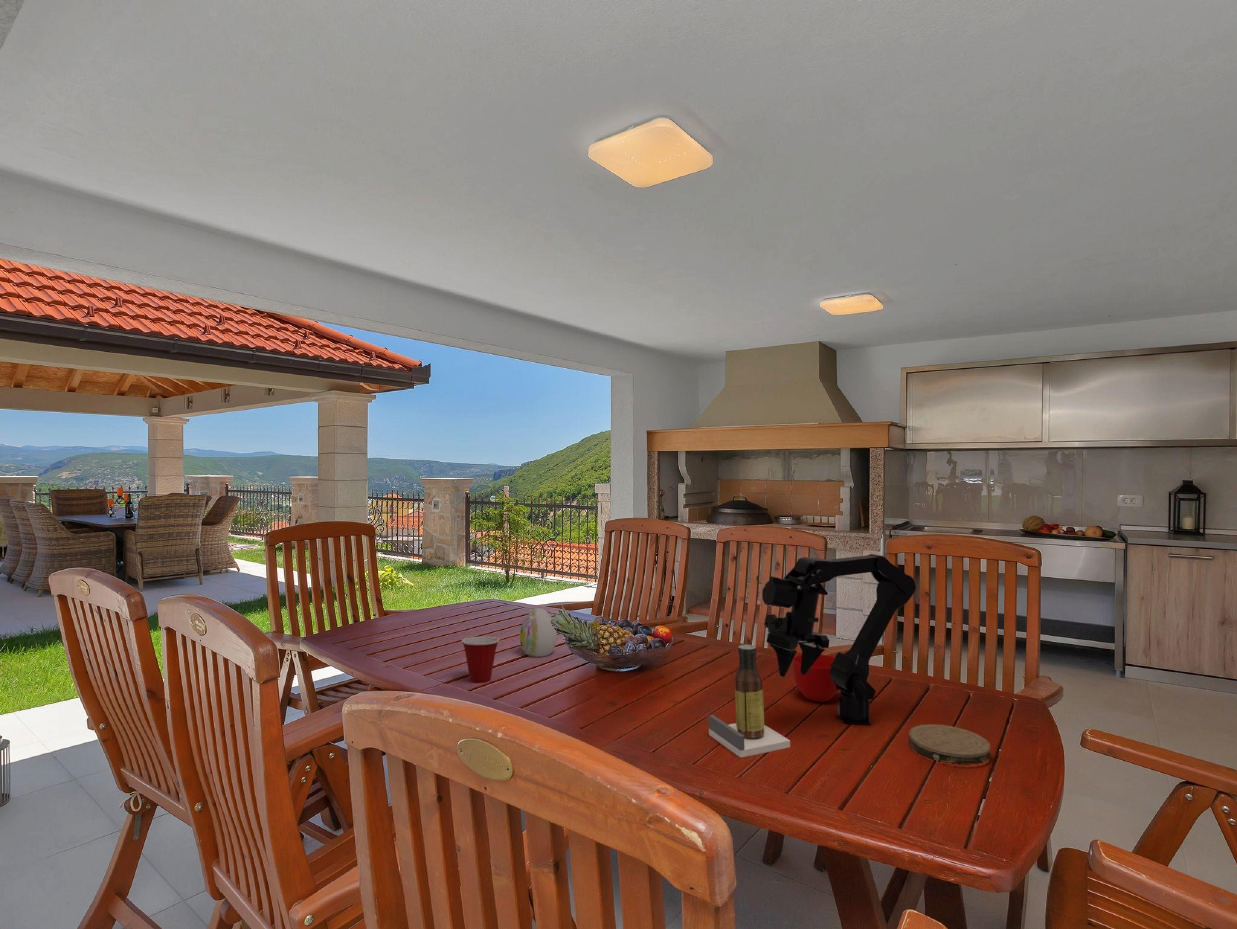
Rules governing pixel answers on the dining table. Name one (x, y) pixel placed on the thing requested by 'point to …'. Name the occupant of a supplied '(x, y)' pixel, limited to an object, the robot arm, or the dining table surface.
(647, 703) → the dining table surface
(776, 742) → the display stand
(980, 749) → the grey-brown flat disc
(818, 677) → the ceramic cup
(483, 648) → the plastic cup
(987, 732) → the dining table surface
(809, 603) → the robot arm
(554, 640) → the decorative egg
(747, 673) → the sauce bottle
